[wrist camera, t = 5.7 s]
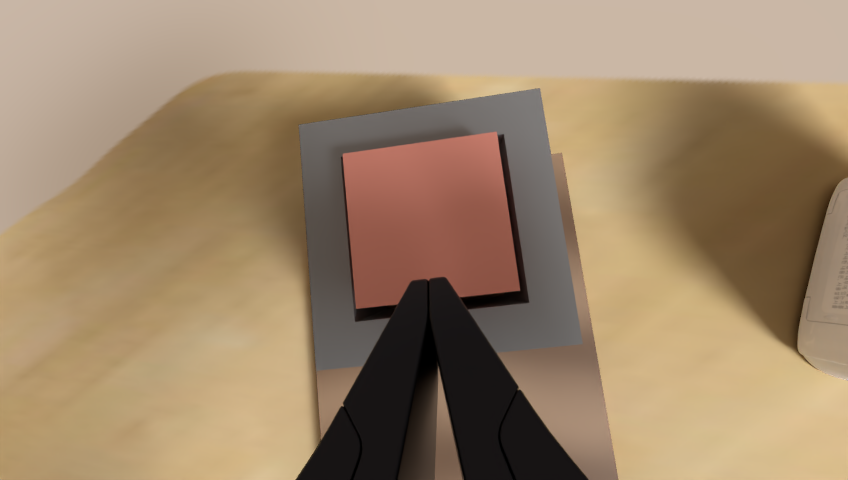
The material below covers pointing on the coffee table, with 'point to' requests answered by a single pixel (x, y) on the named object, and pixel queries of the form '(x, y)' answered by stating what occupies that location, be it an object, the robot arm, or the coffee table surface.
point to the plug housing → (528, 210)
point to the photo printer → (828, 294)
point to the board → (528, 380)
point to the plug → (429, 218)
